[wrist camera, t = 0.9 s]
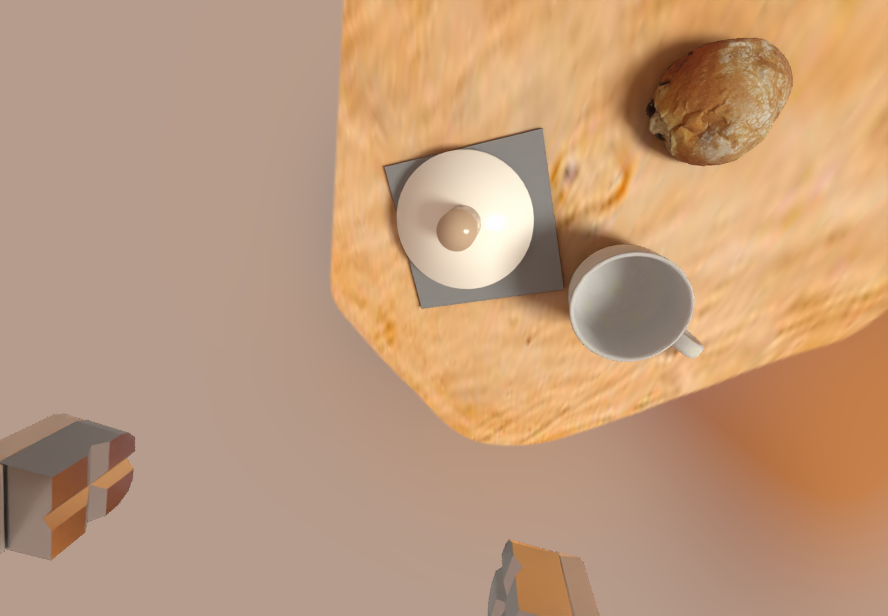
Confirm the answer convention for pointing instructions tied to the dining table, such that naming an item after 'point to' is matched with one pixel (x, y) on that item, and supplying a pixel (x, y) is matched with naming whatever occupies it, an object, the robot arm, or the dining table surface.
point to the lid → (465, 219)
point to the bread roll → (720, 100)
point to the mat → (543, 254)
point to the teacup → (631, 304)
